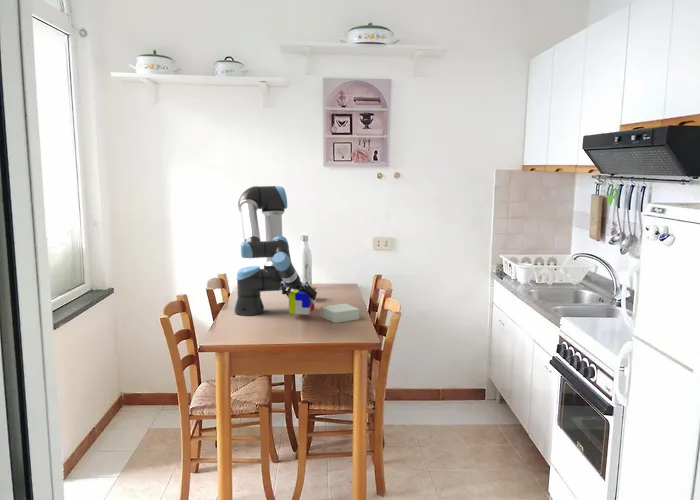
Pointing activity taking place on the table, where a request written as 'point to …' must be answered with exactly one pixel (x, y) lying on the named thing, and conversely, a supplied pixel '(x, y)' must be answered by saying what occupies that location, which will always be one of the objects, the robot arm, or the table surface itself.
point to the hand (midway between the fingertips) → (304, 301)
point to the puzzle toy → (300, 303)
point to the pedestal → (339, 313)
